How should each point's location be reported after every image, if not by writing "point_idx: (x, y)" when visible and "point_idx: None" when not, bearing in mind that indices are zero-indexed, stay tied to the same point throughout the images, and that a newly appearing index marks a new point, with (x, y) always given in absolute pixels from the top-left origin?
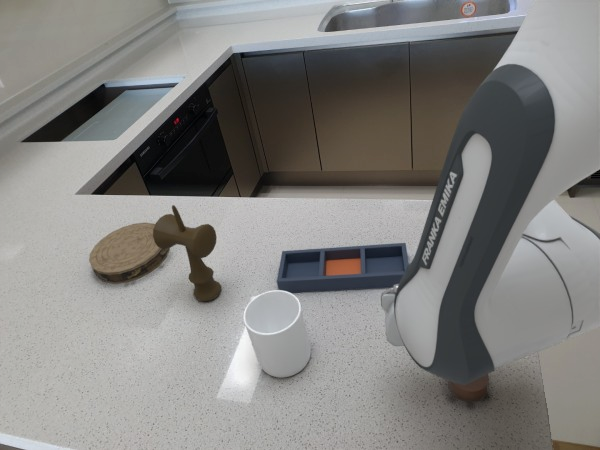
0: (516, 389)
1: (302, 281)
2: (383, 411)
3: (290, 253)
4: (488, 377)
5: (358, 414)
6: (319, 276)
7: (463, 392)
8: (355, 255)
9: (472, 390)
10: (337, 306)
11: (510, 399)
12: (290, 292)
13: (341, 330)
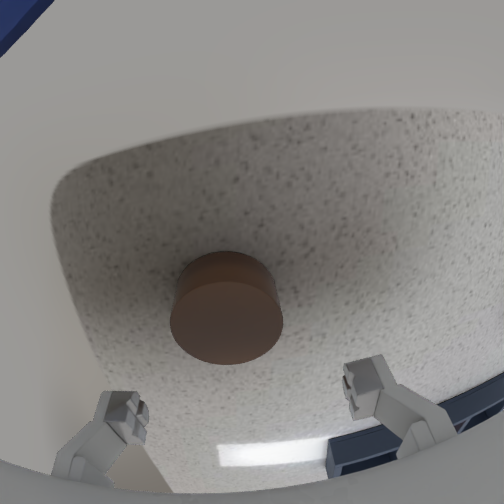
0: (113, 300)
1: (492, 401)
2: (435, 194)
3: None
4: (171, 327)
5: (478, 182)
6: (471, 417)
7: (240, 275)
8: None
9: (213, 285)
10: (451, 382)
11: (121, 274)
12: (497, 377)
13: (461, 349)
